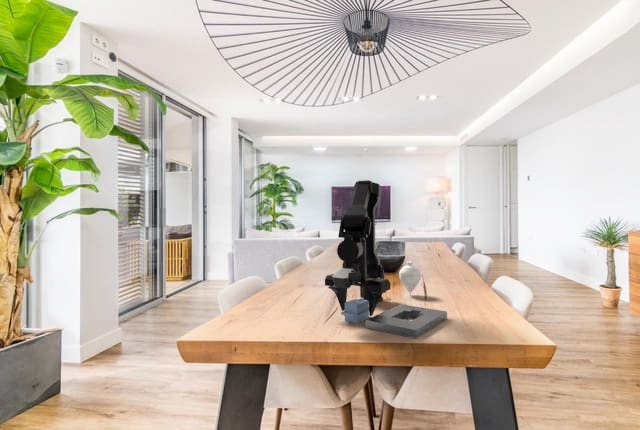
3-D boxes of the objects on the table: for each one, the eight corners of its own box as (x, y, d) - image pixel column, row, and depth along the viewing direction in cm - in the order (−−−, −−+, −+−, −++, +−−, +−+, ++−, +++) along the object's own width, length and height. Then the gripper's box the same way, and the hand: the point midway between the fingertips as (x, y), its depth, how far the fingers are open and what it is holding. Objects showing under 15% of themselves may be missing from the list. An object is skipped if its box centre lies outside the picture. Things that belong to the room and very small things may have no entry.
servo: (341, 322, 101) (340, 301, 101) (360, 314, 108) (359, 295, 108) (353, 324, 98) (352, 303, 98) (371, 316, 106) (371, 297, 105)
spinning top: (425, 295, 131) (425, 261, 131) (411, 298, 126) (411, 263, 126) (408, 291, 137) (408, 259, 137) (394, 294, 132) (394, 261, 132)
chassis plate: (416, 338, 87) (416, 330, 87) (365, 327, 95) (365, 320, 95) (447, 318, 102) (447, 311, 102) (401, 310, 111) (401, 304, 111)
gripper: (311, 258, 103) (313, 314, 103) (369, 263, 91) (370, 326, 91) (335, 254, 111) (336, 306, 111) (391, 258, 100) (392, 316, 100)
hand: (356, 313), depth 103 cm, fingers open, 9 cm apart
